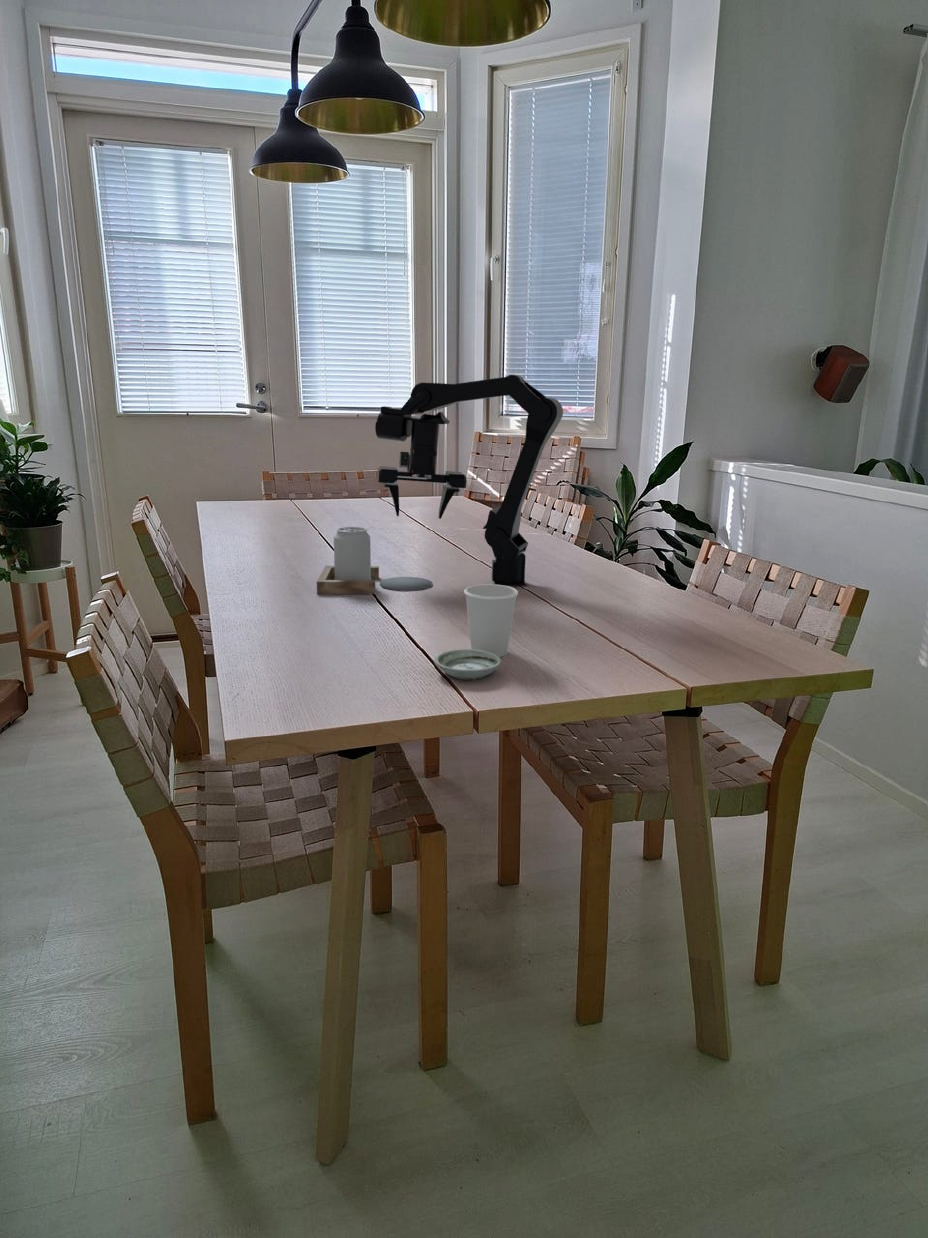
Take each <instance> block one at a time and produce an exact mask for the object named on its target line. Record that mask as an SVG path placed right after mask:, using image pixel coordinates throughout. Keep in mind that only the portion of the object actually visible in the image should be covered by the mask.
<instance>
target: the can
mask: <svg viewBox="0 0 928 1238" xmlns="http://www.w3.org/2000/svg"><path fill="white" fill-rule="evenodd" d="M367 531H368V529H367V528H366V527H362V526H361V527H360V526H342V527H337V528H336V533H335V534H334V536H333V558H334V559H333V560H334V561H333V563H334V565H333V566H334V567H335V579H334V580H372V579H371V566H372V564H371V561H372V560H371V535H370V534H369V533H368V532H367Z"/></svg>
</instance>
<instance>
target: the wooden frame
mask: <svg viewBox="0 0 928 1238" xmlns="http://www.w3.org/2000/svg"><path fill="white" fill-rule="evenodd" d="M379 578H380V566H379V565H378V566H377V565H371V580H335V567H334V565H325V566H324V567H323V570H322V572H321V573H320V575H319V577H318V579H317V580H316V594H318V595H376V580H379Z"/></svg>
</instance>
